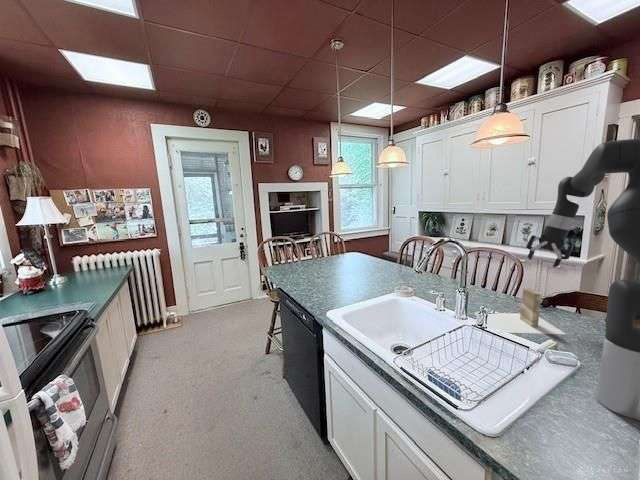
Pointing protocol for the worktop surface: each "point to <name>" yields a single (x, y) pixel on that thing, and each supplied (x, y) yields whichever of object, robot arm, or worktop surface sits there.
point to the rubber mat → (519, 324)
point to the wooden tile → (530, 307)
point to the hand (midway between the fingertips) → (541, 263)
